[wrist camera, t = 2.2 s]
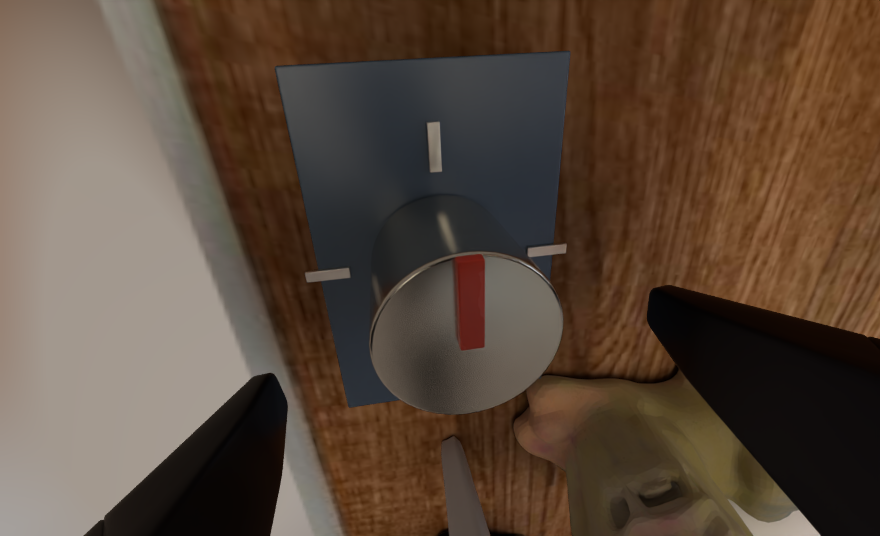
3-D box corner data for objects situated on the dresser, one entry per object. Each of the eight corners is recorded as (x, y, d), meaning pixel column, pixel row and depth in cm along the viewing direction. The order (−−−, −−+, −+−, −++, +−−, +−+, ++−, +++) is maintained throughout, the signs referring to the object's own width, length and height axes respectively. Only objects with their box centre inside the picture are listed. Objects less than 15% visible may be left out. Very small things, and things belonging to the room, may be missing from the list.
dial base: (525, 335, 19) (552, 380, 16) (343, 360, 18) (337, 413, 15) (543, 55, 13) (587, 49, 10) (282, 69, 12) (255, 66, 10)
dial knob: (504, 310, 14) (561, 409, 10) (380, 326, 14) (382, 438, 9) (508, 187, 12) (582, 246, 8) (361, 201, 12) (353, 272, 7)
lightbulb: (618, 434, 24) (799, 438, 23) (591, 470, 28) (744, 473, 28) (657, 556, 19) (881, 563, 19) (617, 577, 23) (801, 582, 23)
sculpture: (766, 325, 21) (1053, 506, 12) (731, 431, 25) (929, 627, 16) (507, 379, 20) (615, 622, 11) (513, 481, 24) (596, 722, 15)
